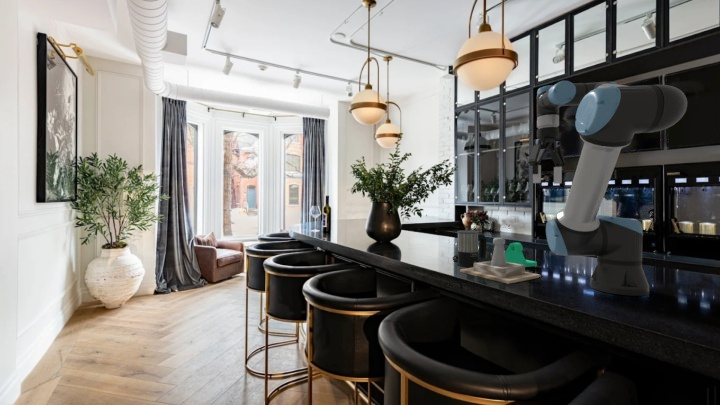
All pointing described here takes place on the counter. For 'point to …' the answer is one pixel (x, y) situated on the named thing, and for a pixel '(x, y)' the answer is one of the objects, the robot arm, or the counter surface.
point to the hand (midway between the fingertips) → (547, 183)
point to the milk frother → (470, 248)
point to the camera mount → (517, 255)
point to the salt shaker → (499, 253)
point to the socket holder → (501, 272)
